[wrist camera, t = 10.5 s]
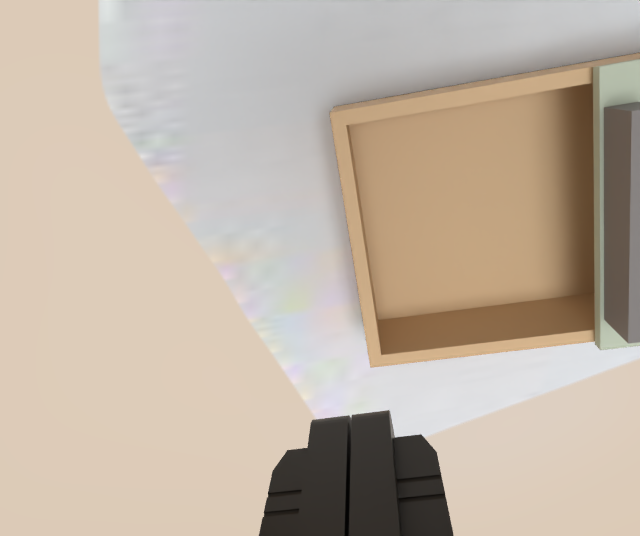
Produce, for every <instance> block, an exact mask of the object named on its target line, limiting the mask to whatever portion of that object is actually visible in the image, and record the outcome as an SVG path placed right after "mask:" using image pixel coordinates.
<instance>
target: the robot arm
mask: <svg viewBox="0 0 640 536" xmlns="http://www.w3.org/2000/svg"><path fill="white" fill-rule="evenodd" d="M259 536H453V531H452V526H451V521H450V516H449V511H448V506H447V501H446V497H445V491H444V487H443V482H442V477H441V472H440V467H439V462H438V457H437V452H436V451H435V450H434V449H433V447H432V446H431V445H430V444H429V443H428V442H427V441H426V440H425V438H424V437H423V436H422V435H413V436H404V437H396V438H395V437H394V431H393V425H392V420H391V415H390V411H389V410H388V411H380V412H372V413H364V414H356V415H352V418H350V416H341V417H333V418H325V419H317V420H312V422H311V427H310V434H309V442H308V448H303V449H296V450H287V452H286V453H285V455H284V456H283V457H282V459H281V460H280V462H279V463H278V464H277V466H276V467H275V469H274V470H273V472H272V478H271V482H270V486H269V491H268V498H267V501H266V505H265V510H264V517H263V519H262V524H261V529H260V534H259Z"/></svg>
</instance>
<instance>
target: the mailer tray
mask: <svg viewBox="0 0 640 536" xmlns="http://www.w3.org/2000/svg"><path fill="white" fill-rule="evenodd" d="M636 59H640V53H635V54H629V55H624V56H618V57H613V58H607V59H601V60H596V61H590V62H584V63H579V64H573V65H567V66H562V67H556V68H550V69H545V70H539V71H533V72H528V73H522V74H516V75H511V76H505V77H500V78H494V79H488V80H483V81H477V82H471V83H466V84H460V85H454V86H449V87H443V88H437V89H432V90H426V91H420V92H415V93H409V94H403V95H398V96H392V97H387V98H381V99H375V100H370V101H364V102H358V103H353V104H347V105H341V106H336V107H334V108H333V109H332V110H331V112H330V119H331V125H332V132H333V138H334V144H335V150H336V156H337V163H338V169H339V175H340V181H341V187H342V194H343V200H344V206H345V212H346V218H347V225H348V231H349V237H350V243H351V249H352V256H353V262H354V268H355V274H356V280H357V287H358V293H359V299H360V305H361V311H362V318H363V324H364V330H365V336H366V342H367V349H368V355H369V361H370V367H380V366H388V365H397V364H405V363H414V362H423V361H431V360H440V359H448V358H457V357H465V356H474V355H482V354H491V353H500V352H508V351H517V350H525V349H534V348H542V347H551V346H559V345H568V344H577V343H585V342H594V341H595V283H594V142H593V67H596V66H602V65H607V64H613V63H619V62H624V61H630V60H636Z"/></svg>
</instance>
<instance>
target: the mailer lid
mask: <svg viewBox="0 0 640 536" xmlns="http://www.w3.org/2000/svg"><path fill="white" fill-rule="evenodd" d="M593 142H594V283H595V345H596V346H597V347H598V348H599V349H600V350H607V349H615V348H624V347H633V346H640V59H636V60H630V61H624V62H619V63H613V64H607V65H602V66H596V67H593Z"/></svg>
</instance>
